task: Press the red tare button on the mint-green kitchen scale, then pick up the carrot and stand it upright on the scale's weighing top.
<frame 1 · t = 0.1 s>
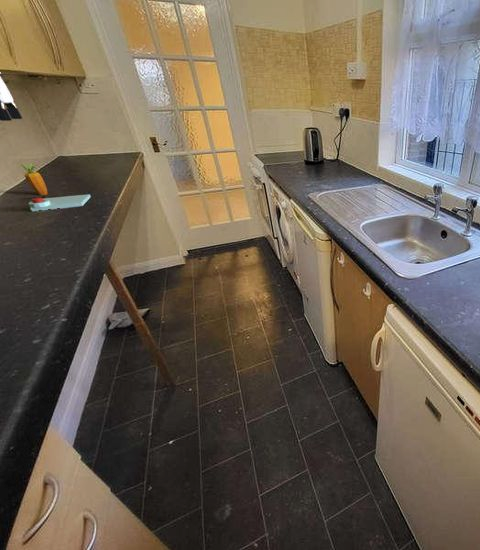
hand: (12, 119, 120), 31 cm above the worktop, tool pointing down, fingers open, 9 cm apart
scale: (63, 203, 126), on the worktop
tare button: (37, 200, 119), point 3 cm above the worktop, slide at 0.1 cm
carrot: (46, 199, 132), on the worktop
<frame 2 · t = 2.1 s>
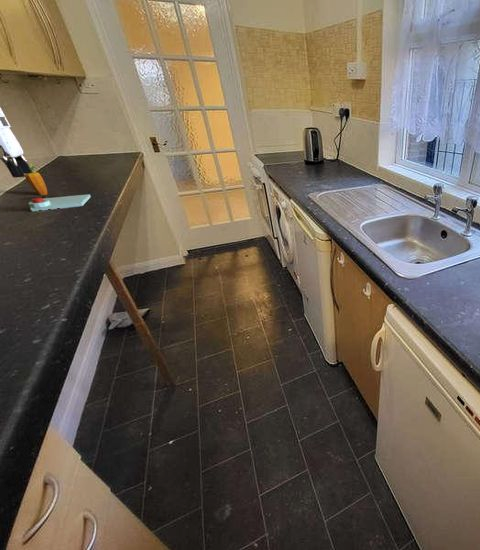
hand: (23, 174, 114), 14 cm above the worktop, tool pointing down, fingers open, 6 cm apart
nothing on the worktop moved.
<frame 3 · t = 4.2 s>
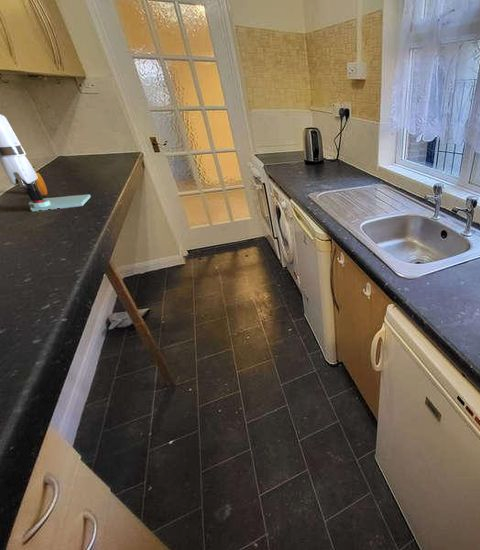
hand: (38, 199, 119), 4 cm above the worktop, tool pointing down, fingers closed
tare button: (38, 201, 119), point 3 cm above the worktop, slide at -0.4 cm, touching gripper
everything else where it was.
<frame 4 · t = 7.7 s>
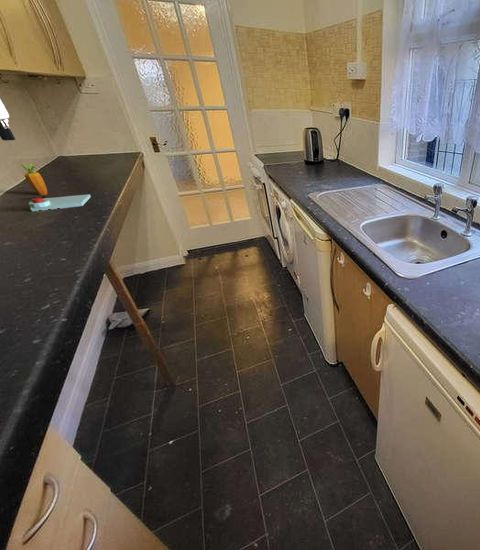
hand: (9, 139, 115), 25 cm above the worktop, tool pointing down, fingers closed
tare button: (37, 200, 119), point 3 cm above the worktop, slide at 0.1 cm
everything else where it was.
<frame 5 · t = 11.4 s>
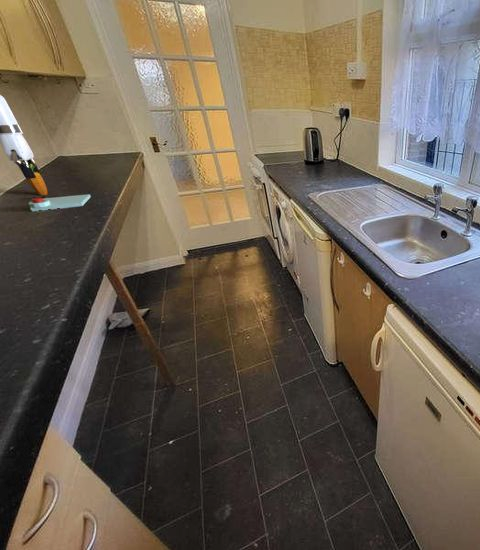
hand: (33, 176, 127), 10 cm above the worktop, tool pointing down, fingers closed on carrot, 4 cm apart
carrot: (46, 199, 132), on the worktop, touching gripper
everything else where it was.
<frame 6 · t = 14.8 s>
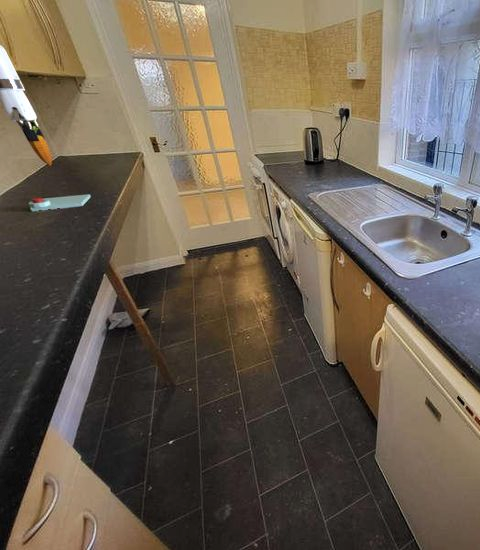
hand: (36, 139, 116), 25 cm above the worktop, tool pointing down, fingers closed on carrot, 4 cm apart
carrot: (50, 166, 121), point 15 cm above the worktop, touching gripper
everything else where it was.
when the fingers open (11 cm above the worktop, at t = 18.4 s): carrot stays where it is, resting on scale.
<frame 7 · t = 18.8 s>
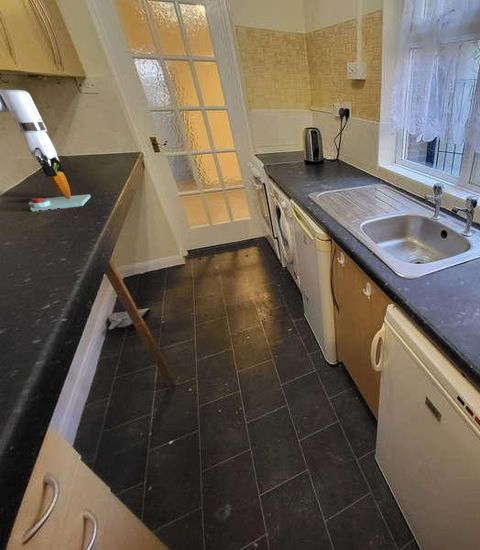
hand: (56, 173, 122), 12 cm above the worktop, tool pointing down, fingers open, 8 cm apart
carrot: (69, 199, 128), point 1 cm above the worktop, touching scale
everything else where it was.
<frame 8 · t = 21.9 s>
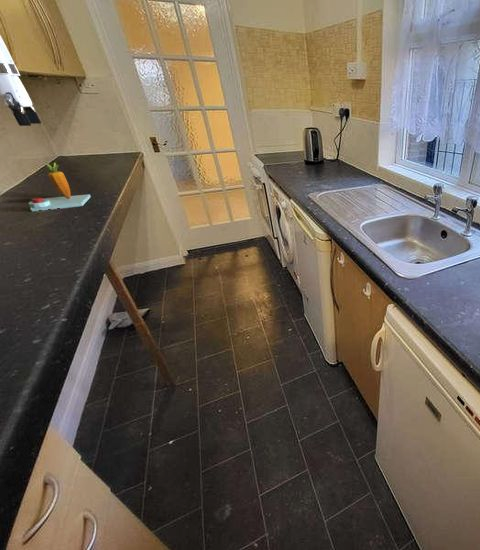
hand: (31, 124, 113), 30 cm above the worktop, tool pointing down, fingers open, 9 cm apart
nothing on the worktop moved.
at the end: tare button pushed in 0.9 cm at the most during the clip, back to where it started at the end; carrot inside the target area on the scale (1.7 cm from its centre), point 1.2 cm above the scale's base; carrot tilted 0° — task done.
